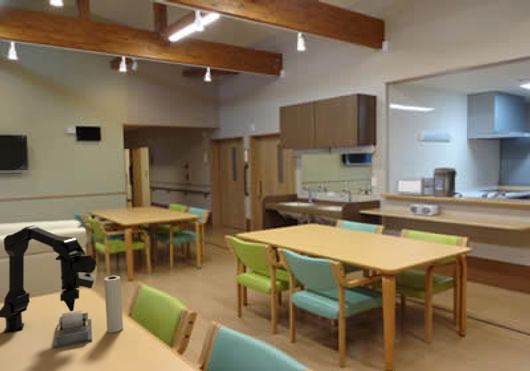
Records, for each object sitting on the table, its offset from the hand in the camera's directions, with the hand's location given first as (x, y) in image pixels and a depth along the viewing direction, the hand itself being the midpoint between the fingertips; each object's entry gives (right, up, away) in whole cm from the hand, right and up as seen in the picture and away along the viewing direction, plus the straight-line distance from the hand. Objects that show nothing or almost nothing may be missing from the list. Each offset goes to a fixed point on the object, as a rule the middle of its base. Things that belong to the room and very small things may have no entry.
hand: (71, 310), depth 157 cm
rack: (-1, -10, +3) cm, 11 cm away
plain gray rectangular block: (0, -9, +1) cm, 9 cm away
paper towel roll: (+15, -10, +6) cm, 19 cm away
